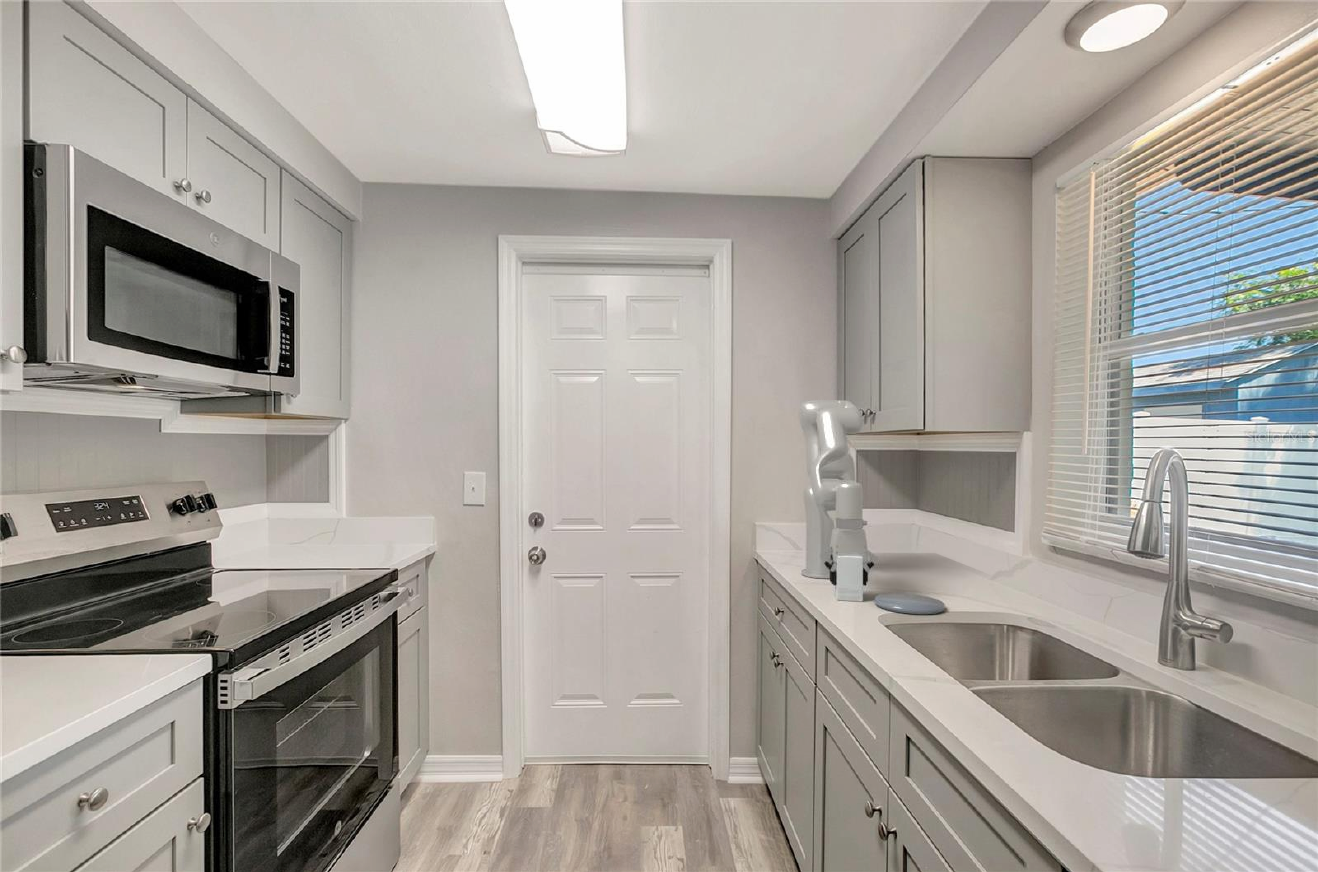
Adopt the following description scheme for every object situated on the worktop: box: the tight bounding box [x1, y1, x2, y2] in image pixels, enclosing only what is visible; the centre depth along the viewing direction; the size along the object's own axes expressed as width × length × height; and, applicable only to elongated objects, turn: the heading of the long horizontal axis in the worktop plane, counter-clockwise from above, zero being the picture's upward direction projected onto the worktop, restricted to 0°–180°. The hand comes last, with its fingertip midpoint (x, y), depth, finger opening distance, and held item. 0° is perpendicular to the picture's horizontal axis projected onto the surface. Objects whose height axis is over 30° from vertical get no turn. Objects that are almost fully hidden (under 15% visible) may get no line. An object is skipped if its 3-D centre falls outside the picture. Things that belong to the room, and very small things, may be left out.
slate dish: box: [874, 592, 946, 615], centre depth 173 cm, size 18×18×2 cm
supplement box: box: [834, 556, 864, 603], centre depth 182 cm, size 7×7×13 cm
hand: (848, 584), depth 182 cm, fingers closed on supplement box, 8 cm apart
